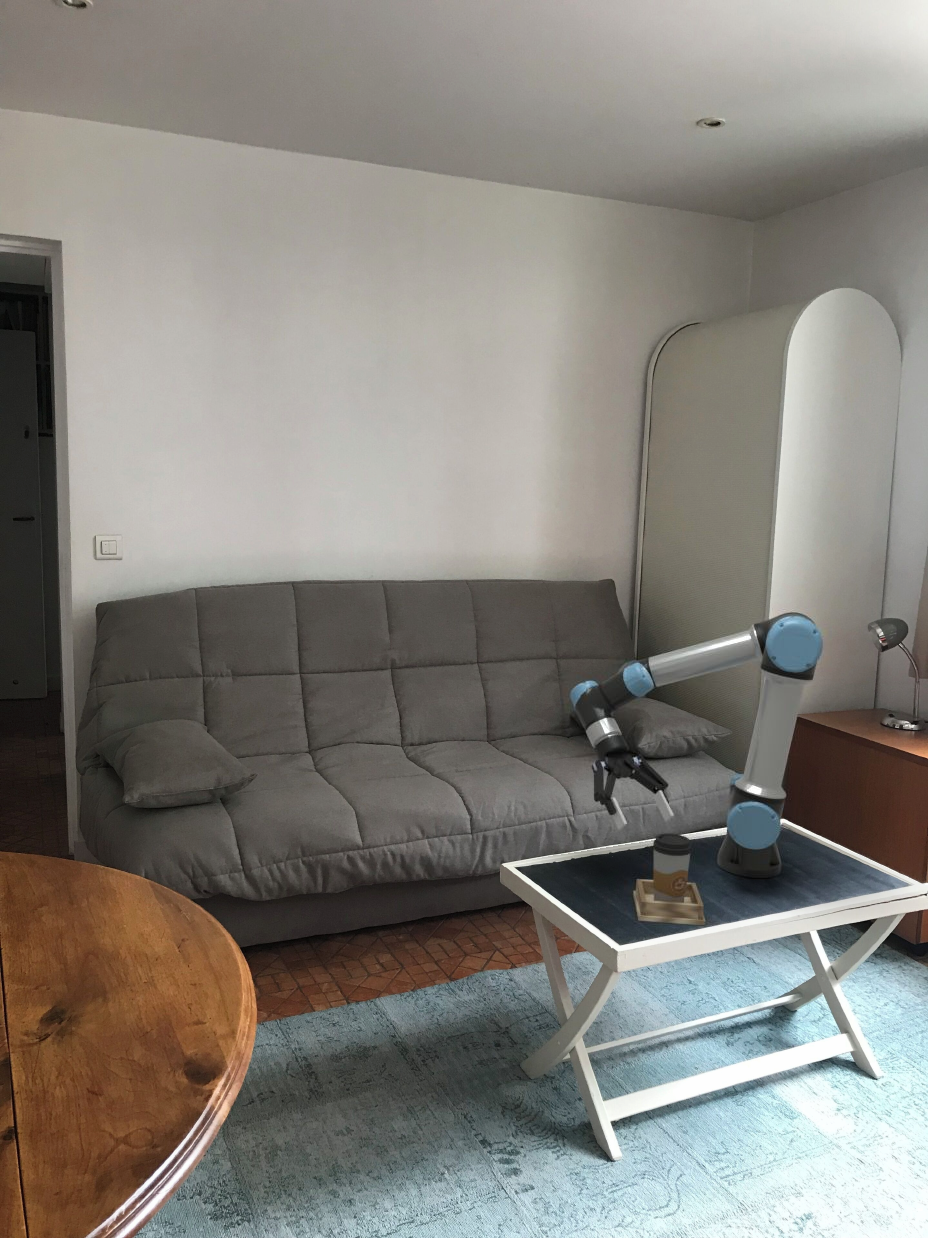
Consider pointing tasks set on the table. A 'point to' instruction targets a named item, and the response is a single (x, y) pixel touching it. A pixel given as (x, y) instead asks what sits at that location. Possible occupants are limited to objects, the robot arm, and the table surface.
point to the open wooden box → (668, 905)
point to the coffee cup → (670, 867)
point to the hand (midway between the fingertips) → (646, 822)
